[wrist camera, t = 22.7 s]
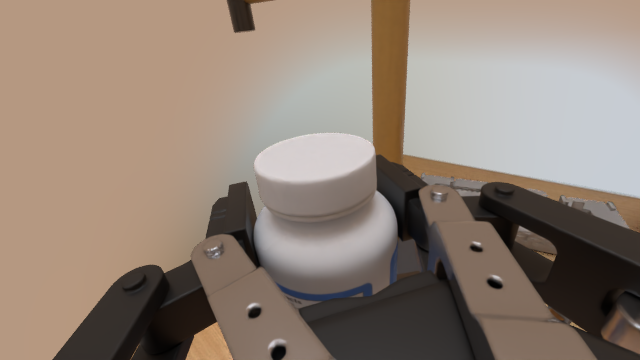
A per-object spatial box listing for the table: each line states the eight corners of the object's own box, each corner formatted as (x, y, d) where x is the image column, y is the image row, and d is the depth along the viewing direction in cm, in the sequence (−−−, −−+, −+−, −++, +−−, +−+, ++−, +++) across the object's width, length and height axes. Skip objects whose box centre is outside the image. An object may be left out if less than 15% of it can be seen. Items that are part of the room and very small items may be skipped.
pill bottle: (337, 272, 17) (321, 119, 12) (416, 329, 13) (436, 139, 8) (263, 334, 13) (205, 159, 9) (339, 432, 10) (305, 220, 5)
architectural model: (415, 185, 48) (417, 160, 46) (602, 213, 37) (618, 181, 34) (400, 222, 40) (401, 193, 37) (638, 274, 28) (662, 237, 26)
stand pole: (393, 228, 36) (401, -11, 23) (402, 244, 34) (417, -18, 21) (371, 232, 36) (366, -7, 23) (378, 248, 33) (377, -14, 21)
